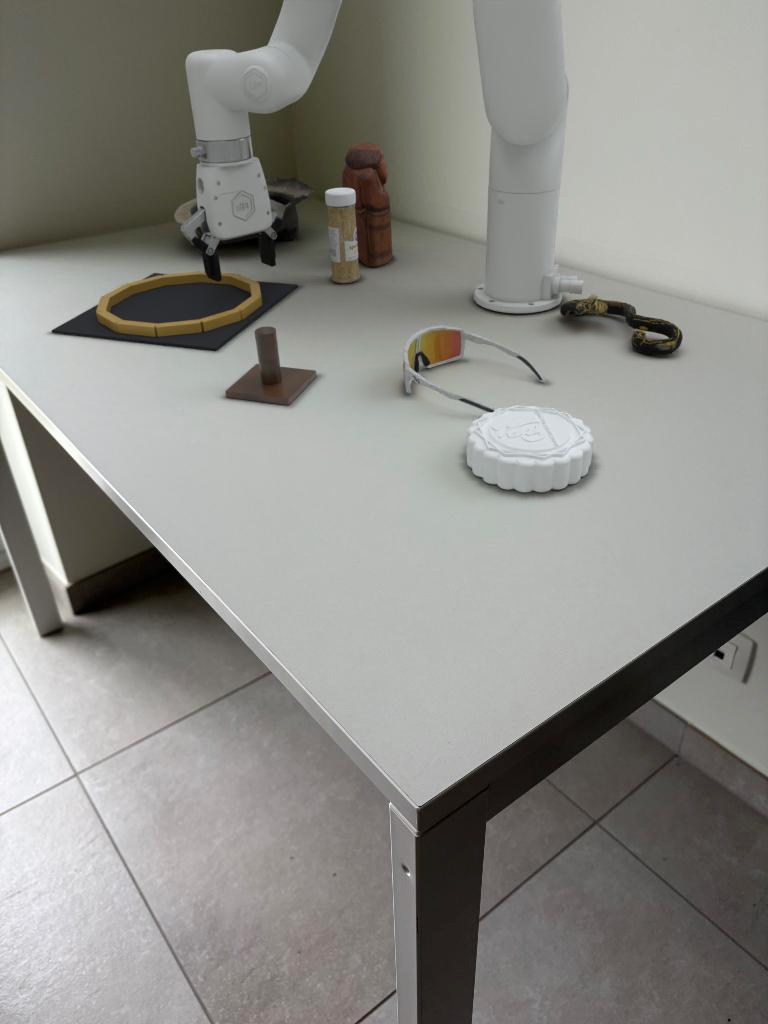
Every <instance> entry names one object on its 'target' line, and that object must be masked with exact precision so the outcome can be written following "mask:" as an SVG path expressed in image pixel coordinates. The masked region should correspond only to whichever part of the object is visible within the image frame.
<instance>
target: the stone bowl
mask: <svg viewBox="0 0 768 1024" xmlns="http://www.w3.org/2000/svg"><path fill="white" fill-rule="evenodd" d="M265 181H266V185H267V190H268V195H269V199H271V200H273V201H276V202H278V203H281V204H283V205H285V211H284V215H283V219H282V225H281V227H280V228H279V230H278V232H277V236H278V237H279V238H281V239H283V240H284V241H289V240H294V239H297V237H298V235H299V230H300V222H299V215H298V211H297V206H296V205H298V204H300V203H301V202H302V201H304V200H307V199H308V198H309V195H310V194H313V193H315V189H314V188H313V187H311V186H309V185H308V183H307V182H306V183H304V181H303V180H299V179H297V177H296V176H293V177H290V178H280V177H276V178H275V177H273V176H272V177H271V176H266V177H265ZM197 211H198V206H197V197H194V198H193V199H191V200H189V201H186V202H184V203H183V204H180V205H178V206H177V209H176V210H175V212H174V215H173V217H174V220H175V222H177V223H179V224H181V225H183V224H184V223H185V222H186V221H187V220H188V219H189V218H190V217H192V216H193V215H194V214H195V213H196V212H197ZM271 213H273V212H272V209H271ZM196 230H197V231H198V233H199V235H200V236H201V237H202V236H203V234H204V233H203V232H202V230H201V226H199V227H198V228H196ZM259 237H261V234H260V233H259V232H258V233H254V234H250V235H246V236H242V237H237V238H233V239H229V240H220V241H219V243H218V245H217V246H222V245H229V244H233V243H234V244H235V243H238V242H243V241H250V240H253V239H259Z"/></svg>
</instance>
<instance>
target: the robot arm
mask: <svg viewBox="0 0 768 1024" xmlns="http://www.w3.org/2000/svg"><path fill="white" fill-rule="evenodd" d="M342 3H343V0H283V2H282V6H281V9H280V12H279V14H278V18H277V21H276V23H275V26H274V29H273V31H272V34H271V35H270V39H269V41H268V43H267V45H264V46H261V47H259V48H255V49H251V50H247V51H242V52H237V51H235V50H232V49H225V48H221V49H220V48H216V49H215V48H213V49H202V50H196V51H193V52H191V53H189V54H188V55H187V56H186V58H185V64H184V65H185V74H186V80H187V81H186V82H187V87H188V94H189V99H190V105H191V112H192V113H191V114H192V118H193V119H192V120H193V126H194V131H195V137H196V140H195V146H194V147H191V148H190V150H189V151H190V155H191V156H190V157H192V158H193V159H198V161H199V163H197V164H196V170H195V171H196V172H195V190H196V191H195V193H196V198H197V206H198V211H197V212H196V213H195V214H194V215H193V216H192V217H190V218H189V219H188V220H187V221H186V222H185V223H184V224H181V226H180V231H181V232H182V234H183V235H184V237H185V239H186V240H187V241H188V243H189V244H190V245H191V246H193V248H195V249H196V250H197V251H198V252H200V253H201V257H202V262H203V269H204V271H205V273H206V275H207V276H208V278H210V279H212V280H214V281H217V282H219V281H221V280H222V276H221V273H222V270H221V264H220V257H219V254H217V253H215V251H216V250H217V247H218V246H219V245H218V243H219V241H220V240H229V239H233V238H237V237H242V236H246V235H250V234H254V233H258V232H259V233H260V234H261V236H260V237H259V238H257V239H258V249H259V257H260V262H261V263H262V264H263V265H266V266H270V267H272V268H273V267H276V265H277V262H276V258H277V253H276V244H275V240H276V239H277V238H278V234H277V232H278V230H279V228H280V227H281V225H282V219H283V215H284V211H285V205H283V204H281V203H278V202H276V201H273V200H271V199H269V195H268V190H267V185H266V181H265V178H266V177H265V173H264V169H263V167H262V164H261V162H260V159H259V157H256V156H254V152H253V151H254V150H253V144H252V136H251V134H252V133H251V127H250V118H249V113H252V114H261V115H268V114H273V113H276V112H278V111H280V110H283V109H284V108H286V107H287V106H289V105H292V104H294V103H296V102H297V101H299V100H301V98H302V97H303V96H304V95H305V94H306V93H307V91H308V89H309V88H310V85H311V84H312V82H313V79H314V77H315V75H316V73H317V70H318V68H319V65H320V64H321V62H322V59H323V57H324V56H325V55H324V54H325V52H326V50H327V48H328V45H329V42H330V40H331V37H332V34H333V32H334V29H335V26H336V21H337V18H338V14H339V11H340V9H341V6H342ZM472 14H473V22H474V31H475V39H476V40H475V41H476V48H477V57H478V65H479V72H480V82H481V90H482V99H483V105H484V111H485V115H486V118H487V121H488V123H489V125H490V127H491V132H490V146H489V147H490V148H489V165H488V166H489V169H488V189H487V214H486V215H487V218H486V245H485V246H486V248H485V274H484V275H485V276H484V277H485V278H484V282H483V283H481V284H479V285H478V286H476V287H475V289H474V291H473V300H474V302H475V303H476V304H477V305H479V306H480V307H482V308H484V309H487V310H490V311H494V312H497V313H498V312H499V313H504V314H505V313H506V314H534V313H539V312H544V311H548V310H551V309H553V308H555V307H557V306H558V305H560V304H561V302H562V300H563V293H569V294H572V295H583V293H584V288H585V279H579V278H578V277H579V276H578V275H564V274H563V275H562V273H561V272H558V271H559V264H557V263H555V253H556V240H557V229H558V228H557V227H558V216H559V205H560V204H559V203H560V193H561V192H560V191H561V186H562V185H561V184H562V174H563V173H562V172H563V161H564V148H565V136H566V124H567V114H568V105H569V97H570V96H569V94H570V85H569V84H570V83H569V76H568V74H567V71H566V65H565V62H566V61H565V49H564V32H563V20H562V5H561V0H472ZM271 209H272V212H273V213H271ZM199 226H201V230H202V232H203V233H204V234H203V236H201V238H199V236H198V233H197V231H196V230H197V228H198V227H199Z"/></svg>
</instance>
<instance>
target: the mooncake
mask: <svg viewBox="0 0 768 1024" xmlns="http://www.w3.org/2000/svg"><path fill="white" fill-rule="evenodd" d="M495 409H496V410H495V411H494V412H484V413H482V415H481V416H480V417H479V418H475V419H474V420H473V421H472V422H471V424H470V425H471V426H470V427H468V428H467V430H466V450H465V451H466V453H465V454H466V464H467V466H468V467H469V468H471V472H472V473H473V475H475V476H476V477H479V478H482V480H483V481H484V482H485V483H487V484H489V485H497V486H498V487H499V488H501V489H503V490H508V491H509V490H515V491H517V492H520V493H530V492H537V493H547V492H549V491H551V490H556V491H557V490H563V489H564V488H566V487H567V486H568V485H574V484H578V482H580V480H581V477H585V476H586V475H587V474H588V473H589V469H590V466H591V464H592V459H593V457H592V456H593V449H594V441H595V438H594V437H593V435H592V430H591V428H590V427H588V426H587V425H585V424H584V422H583V420H581V419H579V418H577V417H573V416H572V414H570V412H566V411H559V410H557V409H556V408H554V407H539V406H537V405H528V406H525V405H519V404H516V405H513V406H510V407H498V408H495Z"/></svg>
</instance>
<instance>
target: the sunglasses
mask: <svg viewBox="0 0 768 1024" xmlns="http://www.w3.org/2000/svg"><path fill="white" fill-rule="evenodd" d="M466 341H470V342H472V343H474V344H477V345H487V346H491V347H494V348H497V349H498V350H500V351H502V352H504V353H505V354H506V355H509V356H511V357H514V358H516V359H517V360H519V361H521V362H522V363H523V364H524V365H525V366H526V367H528V369H530V371H532V373H533V374H534V375H535V377H536V378H537V379H538V380H539V382H540V383H545V382H546V379H545V378H544V376H543V375H542V374H541V372H540V371H539V370H538V369H537V367H536V366H535V365H534V363H532V362H531V361H530V360H529V359H528V358H527V357H525V356H524V355H523V354H521V353H520V351H516V350H514V349H512V348H510V347H508V346H505V345H503V344H501V343H498V342H496V341H494V340H492V339H489V338H487V337H484V336H481V335H478V334H475V333H473V332H468V331H466V330H464V329H463V328H461V327H457V326H446V325H433V326H430V327H425V328H423V329H420V330H418V331H417V332H415V333H413V335H411V336H410V337H409V339H408V340H407V341H406V343H405V344H404V347H403V352H402V353H403V354H402V356H403V365H402V368H403V369H402V371H403V378H404V385H405V392H406V394H407V393H408V394H411V393H412V390H411V386H412V383H413V382H414V383H416V384H417V385H418V386H419V385H420V386H423V387H426V388H429V389H431V390H434V391H435V392H438V393H439V394H440V395H443V396H444V397H446V398H448V399H450V400H454V401H458V402H461V403H463V404H466V405H469V406H472V407H475V408H476V409H479V410H482V411H483V412H485V413H489V412H494V411H495V410H496V409H497V408H493V407H492V406H489V405H486V404H484V403H481V402H479V401H477V400H474V399H471V398H470V397H467V396H465V395H462V394H458V393H455V392H452V391H449V390H447V389H445V388H442V387H440V386H439V385H437V384H435V383H433V382H431V381H430V380H428V379H426V378H425V377H423V376H422V375H421V374H419V372H420V363H421V365H422V366H423V367H424V368H425V369H431V368H435V367H437V366H440V365H444V364H448V363H451V362H454V361H457V360H460V359H463V357H464V355H465V349H466Z"/></svg>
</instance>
